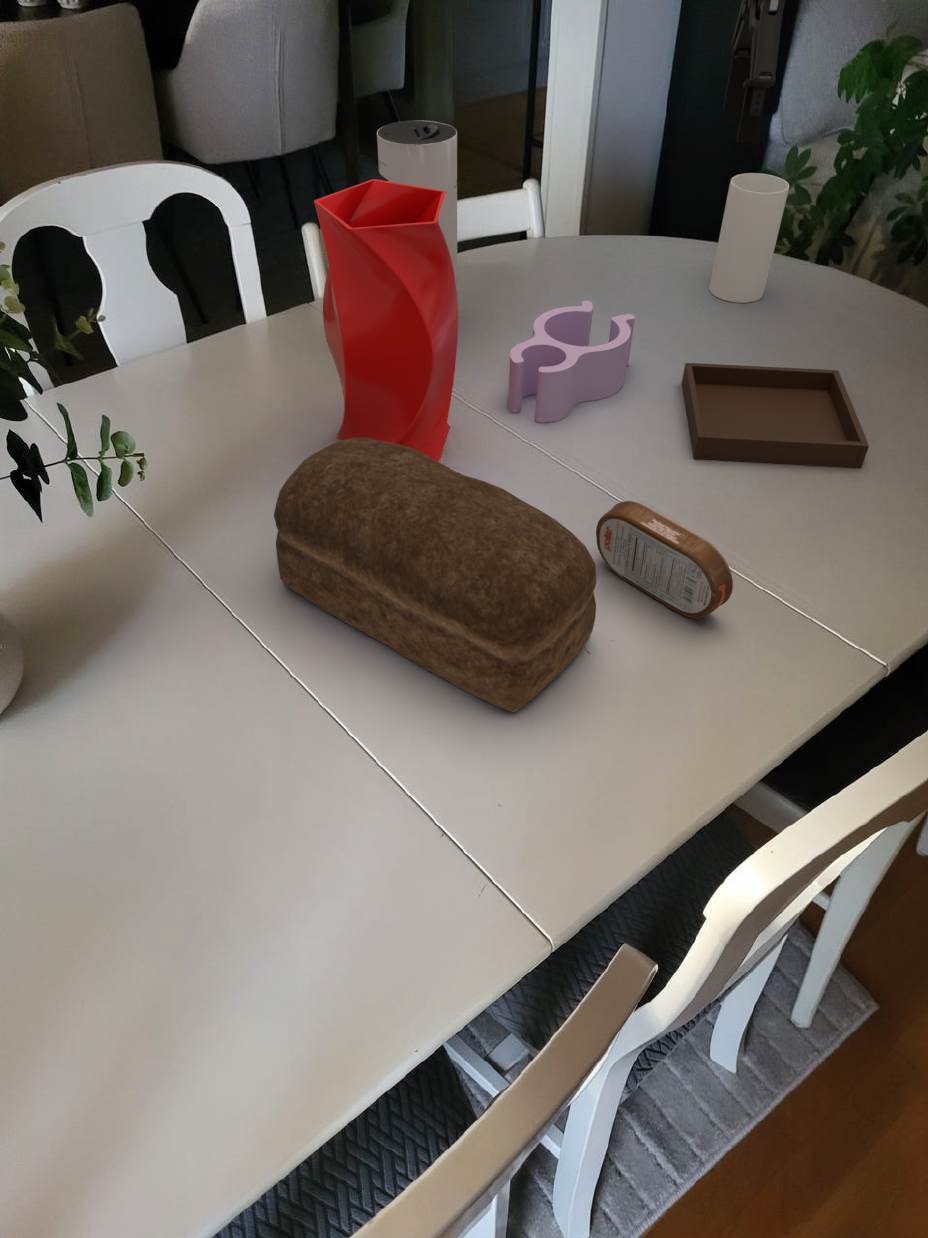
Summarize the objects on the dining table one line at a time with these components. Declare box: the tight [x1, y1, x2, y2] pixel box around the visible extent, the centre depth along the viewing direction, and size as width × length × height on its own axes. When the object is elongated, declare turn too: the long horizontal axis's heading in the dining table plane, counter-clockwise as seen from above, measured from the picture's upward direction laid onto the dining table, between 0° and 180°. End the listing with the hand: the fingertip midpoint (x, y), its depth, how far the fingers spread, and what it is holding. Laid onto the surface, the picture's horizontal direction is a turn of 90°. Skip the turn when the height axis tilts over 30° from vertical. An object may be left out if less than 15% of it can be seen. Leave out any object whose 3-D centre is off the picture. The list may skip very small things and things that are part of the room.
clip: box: [507, 300, 636, 423], centre depth 122 cm, size 20×12×7 cm, turn 144°
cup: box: [708, 172, 790, 304], centre depth 140 cm, size 8×8×16 cm
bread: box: [273, 438, 597, 713], centre depth 87 cm, size 15×32×16 cm, turn 53°
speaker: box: [376, 119, 459, 307], centre depth 128 cm, size 11×10×26 cm
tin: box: [595, 500, 734, 619], centre depth 92 cm, size 15×3×8 cm, turn 44°
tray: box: [681, 362, 870, 469], centre depth 117 cm, size 20×18×3 cm
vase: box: [313, 178, 459, 463], centre depth 104 cm, size 15×14×28 cm
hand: (739, 126), depth 127 cm, fingers open, 13 cm apart
